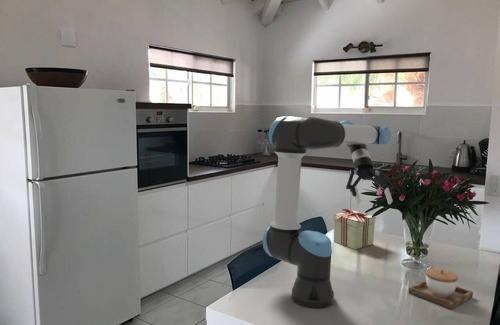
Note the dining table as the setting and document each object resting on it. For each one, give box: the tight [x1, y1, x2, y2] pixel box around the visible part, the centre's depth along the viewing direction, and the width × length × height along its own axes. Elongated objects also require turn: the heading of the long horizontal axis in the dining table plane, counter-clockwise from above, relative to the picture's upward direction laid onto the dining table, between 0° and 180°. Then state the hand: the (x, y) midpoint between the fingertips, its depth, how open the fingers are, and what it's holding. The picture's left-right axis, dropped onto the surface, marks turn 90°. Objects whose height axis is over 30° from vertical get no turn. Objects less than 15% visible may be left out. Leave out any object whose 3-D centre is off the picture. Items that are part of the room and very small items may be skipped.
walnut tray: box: [408, 279, 474, 311], centre depth 148 cm, size 16×16×2 cm
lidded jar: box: [425, 267, 459, 297], centre depth 148 cm, size 11×11×9 cm
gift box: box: [333, 208, 377, 250], centre depth 204 cm, size 17×18×17 cm
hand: (374, 202), depth 162 cm, fingers open, 13 cm apart
